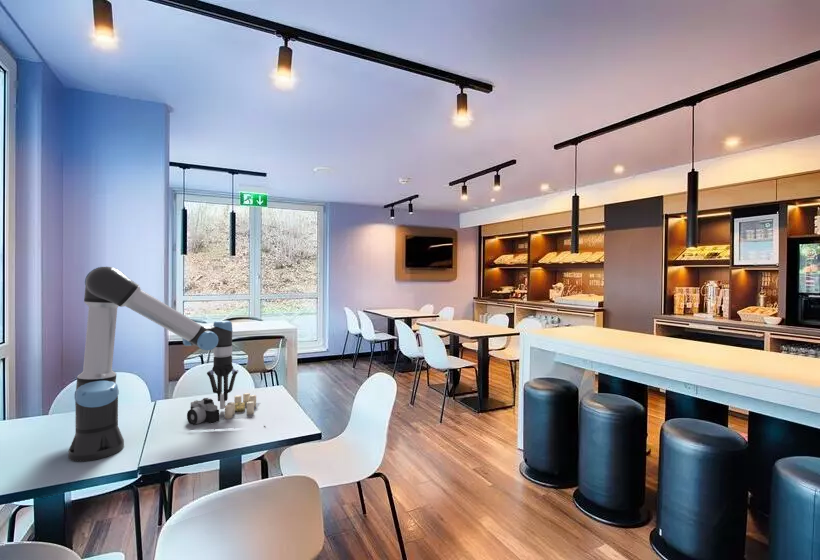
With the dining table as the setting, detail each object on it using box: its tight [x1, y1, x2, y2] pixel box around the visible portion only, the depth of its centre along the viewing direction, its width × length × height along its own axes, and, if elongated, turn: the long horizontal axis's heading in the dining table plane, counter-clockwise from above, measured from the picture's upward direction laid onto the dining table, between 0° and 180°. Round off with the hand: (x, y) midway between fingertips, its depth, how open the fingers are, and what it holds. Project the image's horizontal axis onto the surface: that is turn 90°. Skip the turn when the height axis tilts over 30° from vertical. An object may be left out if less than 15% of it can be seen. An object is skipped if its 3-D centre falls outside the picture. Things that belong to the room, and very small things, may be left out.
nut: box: [235, 401, 245, 412], centre depth 178 cm, size 4×4×3 cm
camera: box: [186, 397, 220, 426], centre depth 166 cm, size 16×9×10 cm, turn 63°
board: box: [221, 392, 261, 420], centre depth 179 cm, size 20×12×6 cm, turn 10°
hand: (222, 408), depth 177 cm, fingers closed
